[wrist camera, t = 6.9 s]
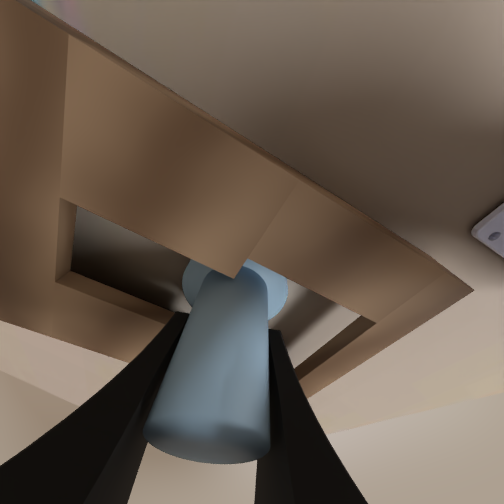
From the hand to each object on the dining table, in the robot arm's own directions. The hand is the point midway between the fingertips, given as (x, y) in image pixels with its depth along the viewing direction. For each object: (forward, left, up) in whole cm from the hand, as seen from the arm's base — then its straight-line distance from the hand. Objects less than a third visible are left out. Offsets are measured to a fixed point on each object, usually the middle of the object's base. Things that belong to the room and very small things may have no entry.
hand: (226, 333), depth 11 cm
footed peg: (0, -1, -4) cm, 4 cm away
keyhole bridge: (+2, 0, -4) cm, 4 cm away
